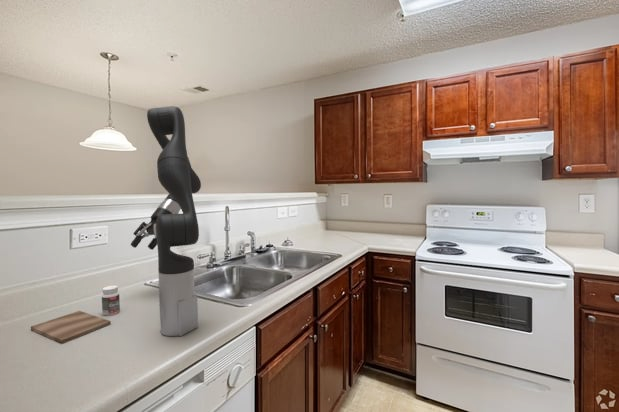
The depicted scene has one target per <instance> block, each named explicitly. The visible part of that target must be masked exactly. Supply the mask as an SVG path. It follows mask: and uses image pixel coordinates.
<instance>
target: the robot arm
mask: <svg viewBox="0 0 619 412" xmlns="http://www.w3.org/2000/svg"><path fill="white" fill-rule="evenodd" d="M146 113H147V114H146V117H147V123H148V125H149V129H150V130H151V132H152V134H153V136H154V138H155V139H156V141H157V143H158V144H159V146H160V148H161V149H162V150H161V152H160V153H159V155H158V158H157V162H156V167H157V169H156V170H157V178H158V182H159V183H160V184H161V186H162V187H163V188H164V190H165V191H166V192H167V194H168V195H167V196H166V197H165V198H164V199H163V200H162V201H161V203H160V204H159V205H158V207H157V208H156V210H154V212H153V213H152V214H151V216H150V221H149V222H148V223H146V222H145V221H143V222H142V223H141V224H140V225H139V226H138V227H137V229H135V231H134V232H133V235H134V239H133V240H132V241H131V243H130V246H131V247H132V248H137V247H138V246H139V244H140V243H141V241H142V240H143V239H144V238H146V237H147V238H148V237H149V236H154V237H153V238H152V240H151V241H150V242H149V243H148V245H147V248H148V249H149V250H152V251H153V250H154V249H155V248H156V246H157V256H158V257H157V258H158V259H157V262H158V269H157V270H158V299H159V321H160V323H159V324H160V333H161V335H163V336H168V337H174V336H175V337H176V336H177V337H182V336H184V335H186V334H187V333H189V332H191V331H193V330H195V329H196V328H198V327H199V319H198V315H199V314H198V313H199V312H198V308H199V307H198V295H196V293H195V262H194V259H193V257H190V256H188V255H182V254H179V253H175V252H174V251H172V250H171V248H173V247H184V246H191V245H194V244H195V245H196V244H197V242H198V241H199V239H200V238H199V236H200V232H199V231H200V229H199V222H198V217H197V213H196V207H195V203H194V197H193V194H197V193H199V191H200V190H201V189H202V183H201V182H202V181H201V179H200V178H199V176H198V175H197V172H196V171H194V169H193V168H192V165H191V163H190V162H191V161H190V158H189V157H188V151H187V144H186V123H185V118H184V114H183V111H182V110H181V109H180V108H179V107H178V106H175V105H174V106H173V105H172V106H162V107H153V108H149V109H147V112H146ZM168 136H171V137H170V139H169V138H168ZM180 211H181V212H182V213H180Z"/></svg>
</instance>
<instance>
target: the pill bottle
mask: <svg viewBox="0 0 619 412" xmlns="http://www.w3.org/2000/svg"><path fill="white" fill-rule="evenodd" d="M118 287H119V286H118V285H107V286H105V287H103V288H102V294H101V308H102V309H101V312H102V315H103V316H112V315H116V314H118V313H119V312H120V311H121V305H120V292H119V291H118V290H119V289H118Z"/></svg>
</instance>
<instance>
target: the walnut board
mask: <svg viewBox="0 0 619 412" xmlns="http://www.w3.org/2000/svg"><path fill="white" fill-rule="evenodd" d="M111 323H112V322H111V320H108V319H106V318H103V317H99V316H96V315H94V314H90V313H87V312H84V311H82V310H78V311H74V312H71V313H68V314H65V315H62V316H59V317H56V318H53V319H50V320H47V321H44V322H41V323H38V324H35V325H32V326H30V330H31V331H33V332H34V333H37V334H39V335H41V336H43V337H45V338H48V339H50V340H53V341H54V342H56V343H59V344H65V343H68V342H70V341H72V340H76V339H78V338H80V337H82V336H85V335H88V334H90V333H92V332H95V331H97V330H101V329H103V328H106V327H108V326H110V325H111Z"/></svg>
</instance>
